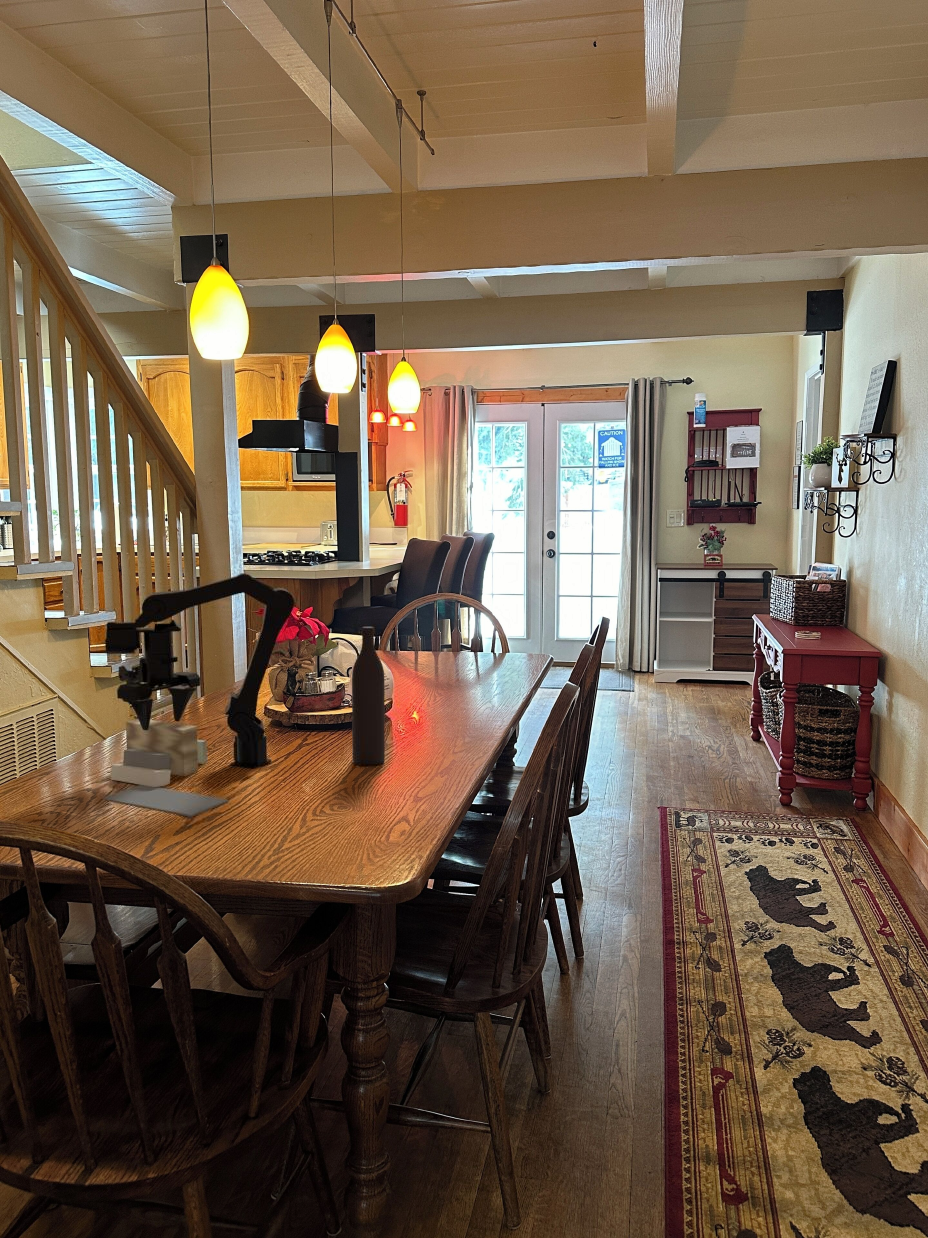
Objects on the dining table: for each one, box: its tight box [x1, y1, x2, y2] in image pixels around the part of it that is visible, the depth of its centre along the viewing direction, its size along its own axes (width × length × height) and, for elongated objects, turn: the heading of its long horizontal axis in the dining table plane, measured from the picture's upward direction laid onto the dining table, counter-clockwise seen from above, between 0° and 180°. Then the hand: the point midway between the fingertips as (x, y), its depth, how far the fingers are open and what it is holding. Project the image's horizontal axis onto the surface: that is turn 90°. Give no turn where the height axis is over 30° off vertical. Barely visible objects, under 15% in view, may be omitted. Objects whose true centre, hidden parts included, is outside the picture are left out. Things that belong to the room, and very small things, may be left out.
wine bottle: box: [351, 626, 386, 767], centre depth 202 cm, size 7×7×30 cm
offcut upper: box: [122, 749, 170, 770], centre depth 189 cm, size 9×3×3 cm, turn 67°
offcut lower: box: [110, 762, 171, 788], centre depth 187 cm, size 12×4×3 cm, turn 64°
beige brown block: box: [125, 718, 199, 777], centre depth 196 cm, size 16×4×10 cm, turn 64°
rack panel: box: [197, 739, 208, 765], centre depth 204 cm, size 12×1×5 cm, turn 64°
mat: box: [101, 784, 229, 818], centre depth 176 cm, size 22×10×1 cm, turn 64°
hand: (161, 725), depth 196 cm, fingers open, 9 cm apart
